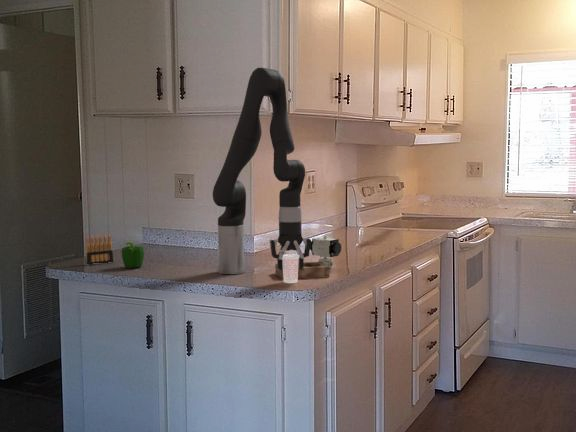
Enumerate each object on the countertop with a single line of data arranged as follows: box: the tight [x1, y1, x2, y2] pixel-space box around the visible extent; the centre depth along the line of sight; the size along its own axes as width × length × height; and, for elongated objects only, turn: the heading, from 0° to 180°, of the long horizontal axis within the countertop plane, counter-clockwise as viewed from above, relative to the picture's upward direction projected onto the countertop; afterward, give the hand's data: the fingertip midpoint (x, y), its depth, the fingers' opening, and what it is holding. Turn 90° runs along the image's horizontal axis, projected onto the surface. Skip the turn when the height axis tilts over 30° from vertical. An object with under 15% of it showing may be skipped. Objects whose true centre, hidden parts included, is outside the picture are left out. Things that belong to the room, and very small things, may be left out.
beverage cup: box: [282, 250, 299, 284], centre depth 235 cm, size 6×6×14 cm
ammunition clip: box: [85, 232, 114, 264], centre depth 275 cm, size 11×2×12 cm, turn 125°
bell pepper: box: [121, 241, 145, 269], centre depth 266 cm, size 8×8×10 cm
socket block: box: [274, 261, 330, 280], centre depth 247 cm, size 17×11×4 cm, turn 102°
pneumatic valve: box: [310, 235, 342, 269], centre depth 261 cm, size 6×12×12 cm, turn 51°
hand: (290, 269), depth 235 cm, fingers closed on beverage cup, 6 cm apart
